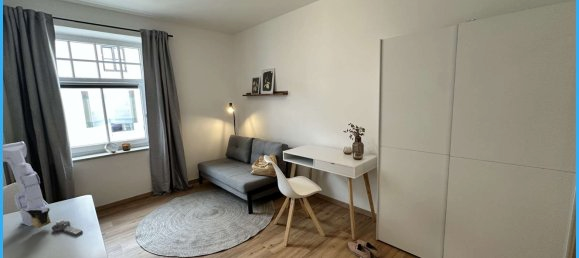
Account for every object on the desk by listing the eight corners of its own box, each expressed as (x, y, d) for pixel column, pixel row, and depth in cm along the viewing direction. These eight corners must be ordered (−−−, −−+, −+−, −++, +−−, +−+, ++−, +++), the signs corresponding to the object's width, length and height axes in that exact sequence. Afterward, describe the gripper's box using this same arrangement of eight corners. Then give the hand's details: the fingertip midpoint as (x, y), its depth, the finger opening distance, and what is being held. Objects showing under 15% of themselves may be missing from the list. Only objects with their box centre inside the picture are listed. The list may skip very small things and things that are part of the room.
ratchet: (49, 231, 131) (47, 223, 130) (65, 223, 137) (63, 216, 136) (71, 239, 123) (69, 230, 122) (87, 230, 130) (85, 222, 129)
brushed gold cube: (33, 226, 130) (30, 217, 129) (45, 221, 135) (42, 212, 133) (38, 228, 128) (35, 219, 127) (50, 222, 133) (48, 213, 132)
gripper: (16, 199, 127) (23, 223, 130) (31, 203, 122) (39, 229, 125) (34, 192, 134) (41, 216, 137) (49, 197, 128) (56, 221, 131)
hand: (41, 221), depth 131 cm, fingers closed on brushed gold cube, 5 cm apart
